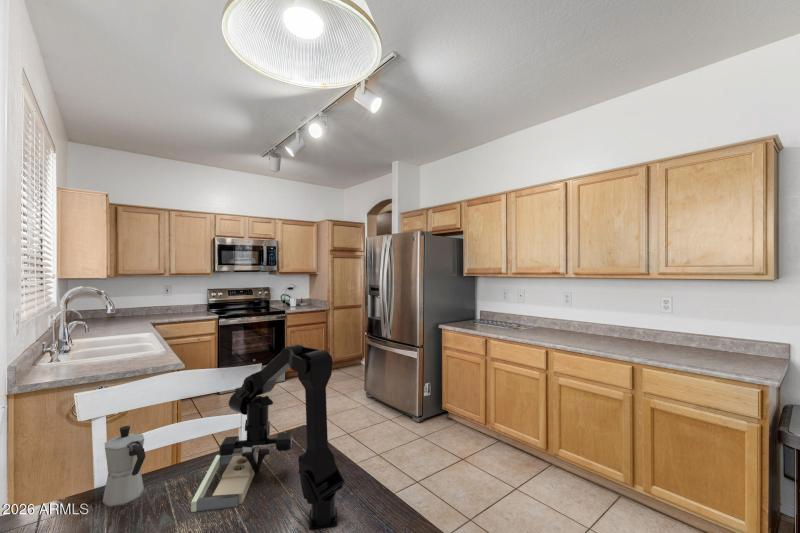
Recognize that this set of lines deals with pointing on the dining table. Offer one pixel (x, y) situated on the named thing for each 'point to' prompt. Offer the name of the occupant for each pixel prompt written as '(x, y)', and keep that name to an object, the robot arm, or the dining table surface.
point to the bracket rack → (208, 502)
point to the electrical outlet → (236, 478)
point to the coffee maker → (124, 468)
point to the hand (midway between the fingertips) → (256, 473)
